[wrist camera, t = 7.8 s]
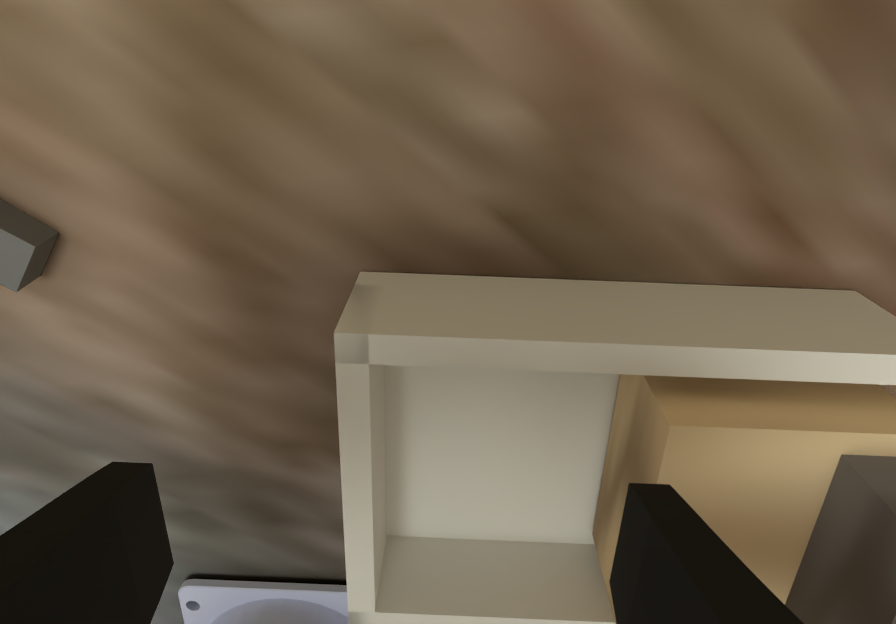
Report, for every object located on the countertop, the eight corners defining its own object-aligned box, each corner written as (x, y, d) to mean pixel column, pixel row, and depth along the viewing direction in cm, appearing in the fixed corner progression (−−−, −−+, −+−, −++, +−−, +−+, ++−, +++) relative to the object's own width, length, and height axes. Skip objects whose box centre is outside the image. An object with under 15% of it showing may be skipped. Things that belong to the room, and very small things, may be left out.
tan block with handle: (772, 541, 20) (910, 766, 14) (592, 534, 20) (649, 755, 14) (838, 350, 17) (1051, 529, 11) (625, 342, 17) (718, 515, 11)
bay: (767, 547, 22) (829, 649, 18) (367, 530, 22) (348, 629, 18) (854, 290, 18) (957, 357, 14) (360, 271, 18) (333, 332, 14)
